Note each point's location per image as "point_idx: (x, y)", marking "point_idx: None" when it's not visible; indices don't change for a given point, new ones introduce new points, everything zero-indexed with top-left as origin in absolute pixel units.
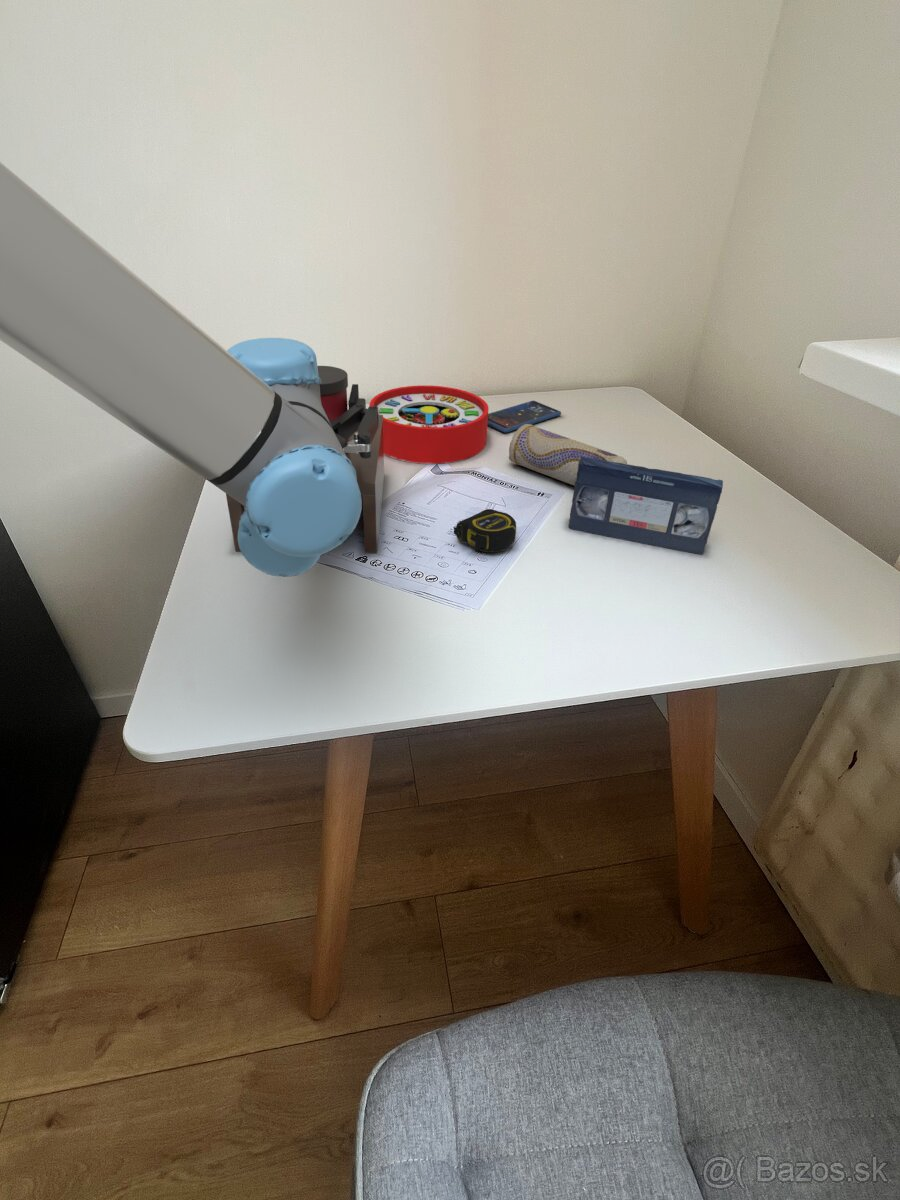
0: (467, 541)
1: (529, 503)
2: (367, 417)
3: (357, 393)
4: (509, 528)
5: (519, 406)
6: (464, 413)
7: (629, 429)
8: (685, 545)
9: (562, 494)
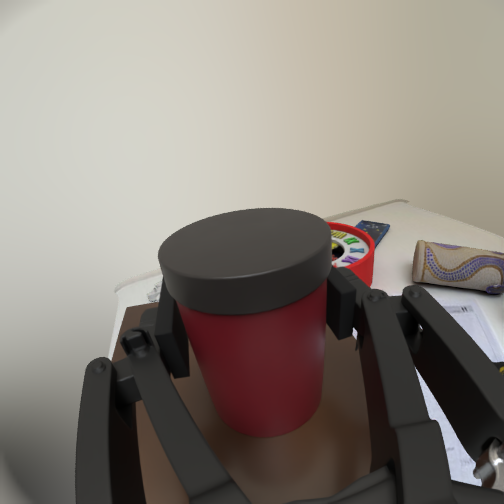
0: None
1: (469, 324)
2: (454, 338)
3: None
4: None
5: (358, 226)
6: (344, 242)
7: (437, 228)
8: None
9: (475, 302)
